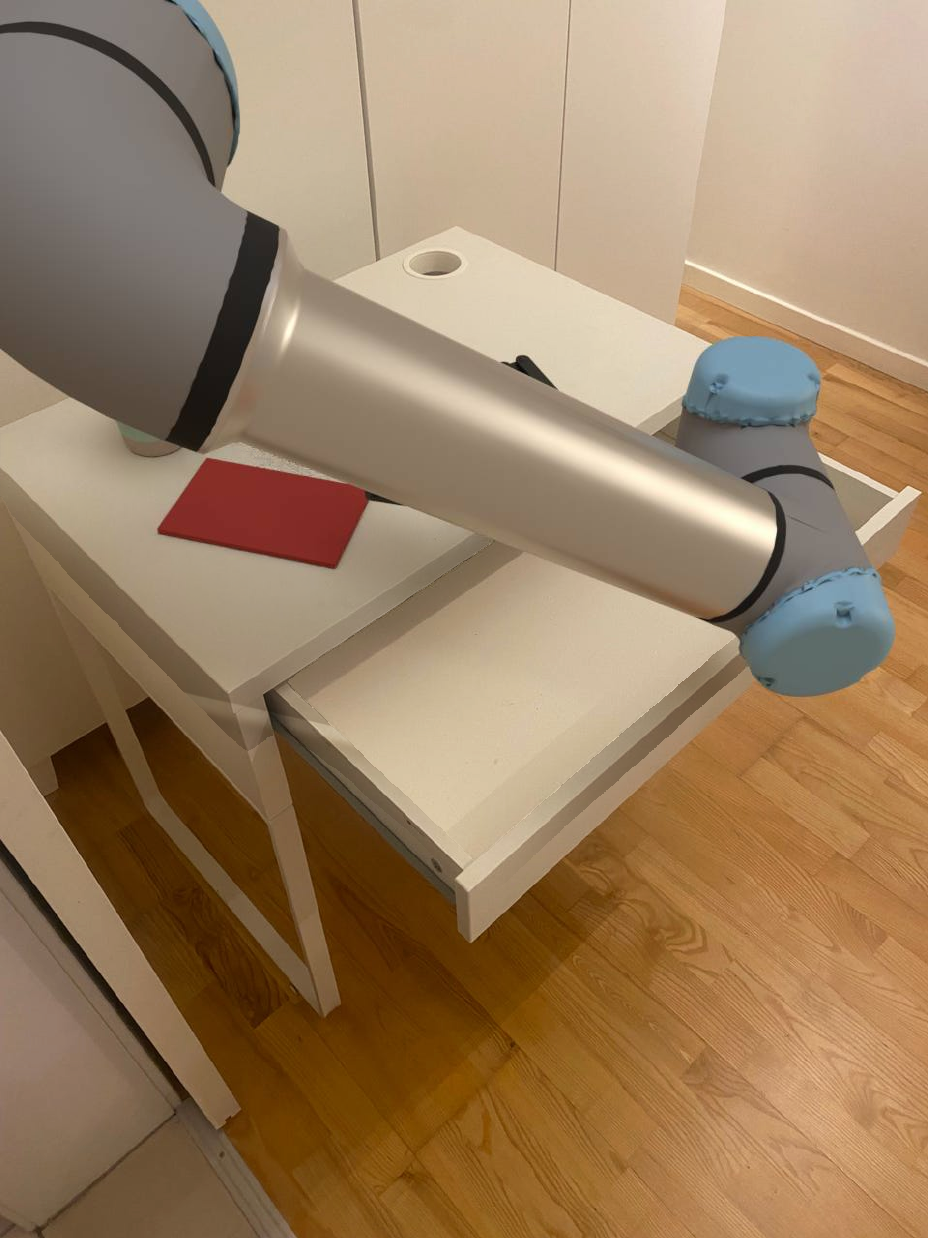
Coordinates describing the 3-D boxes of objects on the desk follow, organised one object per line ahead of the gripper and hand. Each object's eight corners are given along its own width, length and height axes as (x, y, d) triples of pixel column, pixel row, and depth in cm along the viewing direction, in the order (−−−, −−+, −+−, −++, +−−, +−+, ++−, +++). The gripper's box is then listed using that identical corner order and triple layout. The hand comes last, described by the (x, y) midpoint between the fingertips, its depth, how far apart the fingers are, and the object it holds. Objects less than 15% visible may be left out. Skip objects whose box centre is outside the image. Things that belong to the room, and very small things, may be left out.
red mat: (157, 533, 82) (156, 528, 81) (207, 461, 88) (206, 457, 88) (335, 568, 79) (334, 564, 79) (372, 492, 86) (372, 488, 86)
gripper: (487, 623, 68) (276, 497, 76) (667, 452, 81) (470, 360, 89) (491, 547, 62) (263, 420, 71) (684, 376, 75) (472, 286, 84)
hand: (378, 386), depth 80 cm, fingers open, 13 cm apart
